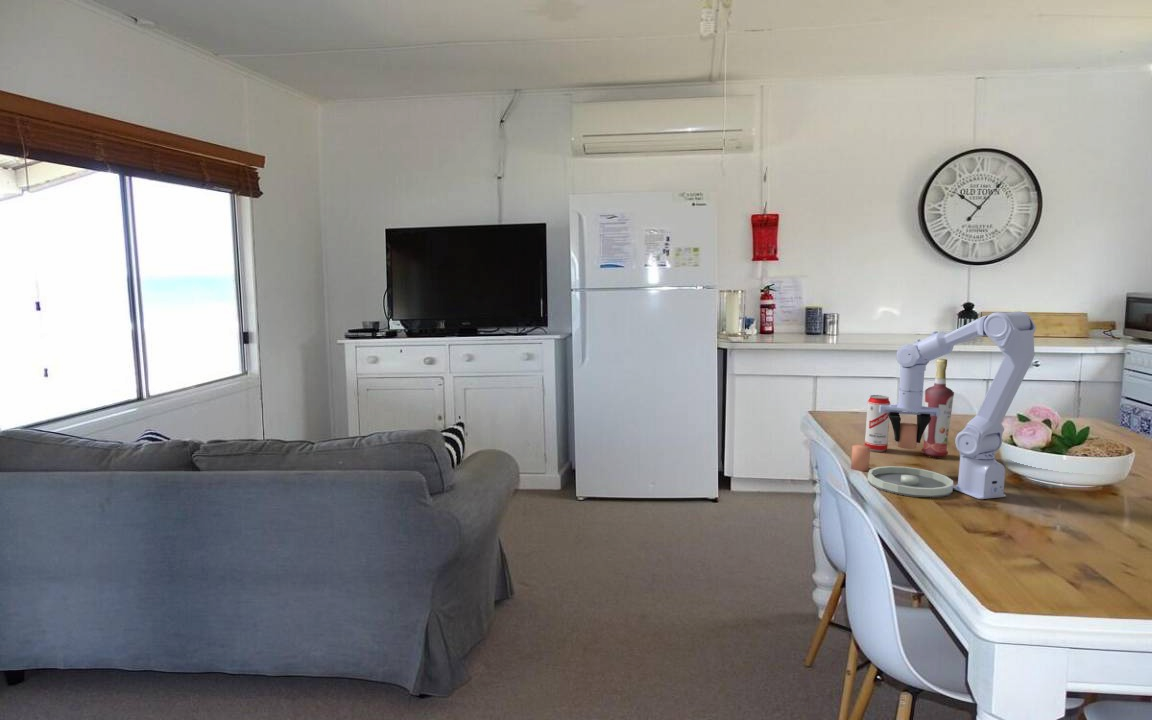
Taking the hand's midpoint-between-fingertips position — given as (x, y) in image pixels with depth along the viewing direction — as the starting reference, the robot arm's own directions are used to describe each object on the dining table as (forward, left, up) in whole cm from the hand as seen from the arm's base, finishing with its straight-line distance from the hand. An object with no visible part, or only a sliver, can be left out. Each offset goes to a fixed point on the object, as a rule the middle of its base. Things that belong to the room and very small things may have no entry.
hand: (907, 441), depth 189 cm
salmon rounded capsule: (0, 0, -2) cm, 2 cm away
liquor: (+12, -20, -9) cm, 25 cm away
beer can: (+22, -8, -9) cm, 25 cm away
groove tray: (-10, +8, -8) cm, 15 cm away
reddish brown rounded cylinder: (+6, +10, -8) cm, 14 cm away
